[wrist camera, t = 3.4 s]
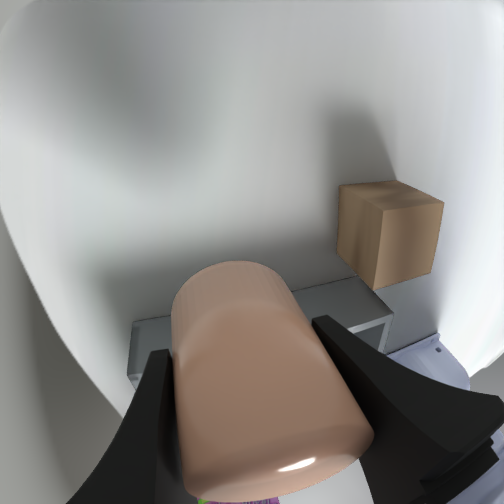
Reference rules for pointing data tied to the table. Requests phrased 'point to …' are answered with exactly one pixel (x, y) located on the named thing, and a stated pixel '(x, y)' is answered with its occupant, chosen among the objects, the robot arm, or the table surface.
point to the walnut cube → (387, 231)
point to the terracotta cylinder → (256, 389)
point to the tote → (312, 304)
